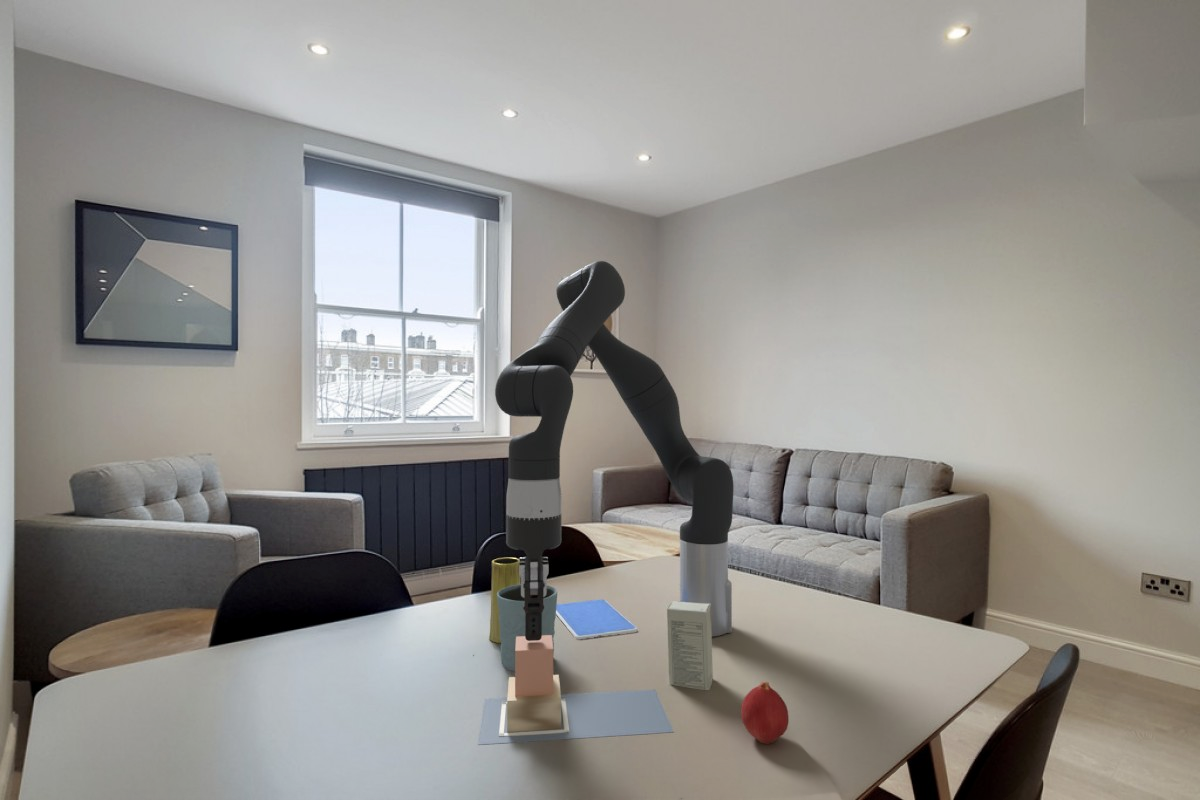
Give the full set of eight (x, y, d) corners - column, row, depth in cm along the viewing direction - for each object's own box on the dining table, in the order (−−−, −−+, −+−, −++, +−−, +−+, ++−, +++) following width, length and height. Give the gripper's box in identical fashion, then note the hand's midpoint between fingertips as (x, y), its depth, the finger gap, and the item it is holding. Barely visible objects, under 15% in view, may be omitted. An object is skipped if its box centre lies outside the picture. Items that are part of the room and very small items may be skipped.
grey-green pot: (507, 682, 93) (508, 604, 94) (488, 658, 102) (488, 587, 103) (567, 669, 98) (567, 595, 98) (543, 647, 107) (544, 579, 107)
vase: (525, 632, 114) (525, 557, 115) (518, 644, 108) (518, 565, 108) (494, 630, 115) (494, 556, 115) (485, 643, 109) (485, 564, 109)
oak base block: (558, 702, 85) (558, 674, 85) (561, 728, 78) (561, 697, 78) (508, 705, 84) (508, 677, 85) (507, 732, 78) (507, 700, 78)
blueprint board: (654, 693, 89) (654, 688, 89) (674, 736, 78) (674, 731, 78) (485, 702, 87) (485, 698, 87) (477, 749, 75) (477, 743, 75)
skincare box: (713, 682, 93) (713, 603, 93) (709, 694, 89) (708, 612, 89) (672, 676, 95) (672, 599, 95) (666, 688, 91) (666, 607, 91)
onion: (735, 732, 78) (735, 671, 79) (778, 730, 79) (777, 669, 79) (750, 758, 73) (749, 692, 73) (796, 756, 73) (795, 690, 73)
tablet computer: (639, 634, 114) (639, 627, 114) (576, 643, 110) (576, 636, 110) (604, 604, 133) (604, 598, 133) (549, 610, 128) (549, 604, 128)
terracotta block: (551, 677, 84) (551, 635, 84) (553, 694, 79) (553, 649, 79) (515, 679, 84) (516, 636, 84) (515, 696, 79) (515, 650, 79)
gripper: (564, 519, 76) (563, 657, 75) (559, 503, 89) (558, 620, 89) (504, 520, 75) (503, 659, 75) (508, 504, 88) (507, 622, 88)
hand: (533, 638), depth 82 cm, fingers closed
